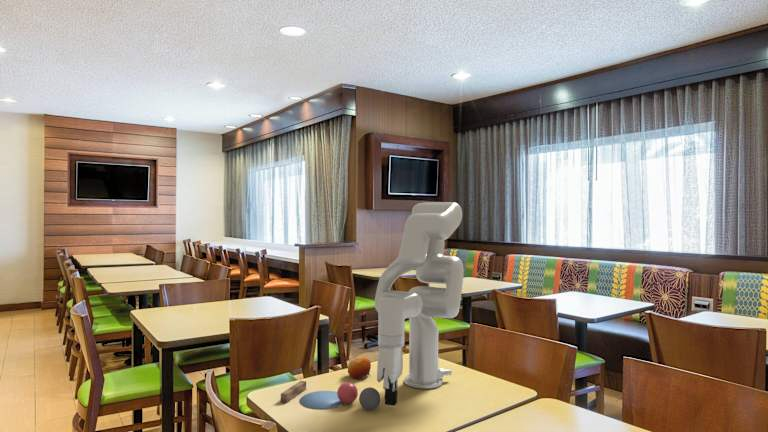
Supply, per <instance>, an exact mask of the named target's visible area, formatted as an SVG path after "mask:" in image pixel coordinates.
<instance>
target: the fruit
mask: <svg viewBox="0 0 768 432" xmlns="http://www.w3.org/2000/svg"><path fill="white" fill-rule="evenodd" d="M371 367H372V364H371V361H370V359H369V357H366V356H363V355H359V356H357V357H354V358H353V359H351V360H350V361H349V363H348V366H347V373H348V375H349V376H350V377H351V378H353V379H355V380H359V379H360V380H361V379H367V376H370V372H371Z"/></svg>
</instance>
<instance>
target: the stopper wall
mask: <svg viewBox="0 0 768 432" xmlns="http://www.w3.org/2000/svg"><path fill="white" fill-rule="evenodd" d="M306 390H307V381H304V380H299V381H298V382H297V383H294V384H293V385H292V386H289V388H287V389H286V390H284V391H283V392H281V393H280V403H283V404H287V403H289V402H290V401H292V400H293V399H294V398H296V397H298V396H299V395H300V394H302V393H303V392H304V391H306Z"/></svg>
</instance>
